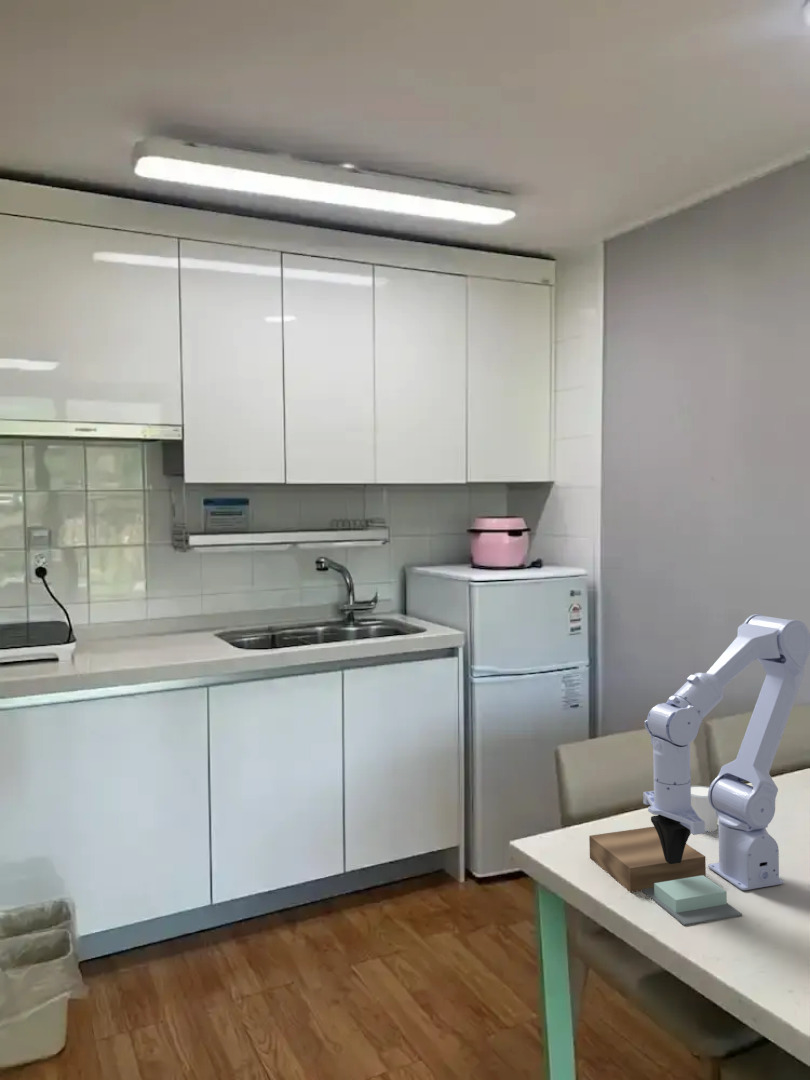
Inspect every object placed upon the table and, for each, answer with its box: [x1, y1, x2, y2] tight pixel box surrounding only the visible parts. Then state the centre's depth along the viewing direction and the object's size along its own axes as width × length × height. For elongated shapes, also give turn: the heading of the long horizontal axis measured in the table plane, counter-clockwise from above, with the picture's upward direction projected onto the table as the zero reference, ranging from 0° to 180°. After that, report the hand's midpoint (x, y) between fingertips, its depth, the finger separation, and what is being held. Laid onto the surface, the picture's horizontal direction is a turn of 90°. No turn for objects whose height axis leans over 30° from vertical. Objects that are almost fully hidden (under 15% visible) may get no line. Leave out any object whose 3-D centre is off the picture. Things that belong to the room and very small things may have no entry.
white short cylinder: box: [691, 785, 719, 833], centre depth 161 cm, size 7×7×7 cm
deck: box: [588, 826, 707, 893], centre depth 143 cm, size 14×14×4 cm
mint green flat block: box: [654, 875, 728, 913], centre depth 131 cm, size 6×9×2 cm, turn 105°
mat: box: [641, 887, 743, 927], centre depth 131 cm, size 12×10×1 cm
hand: (673, 861), depth 135 cm, fingers closed
